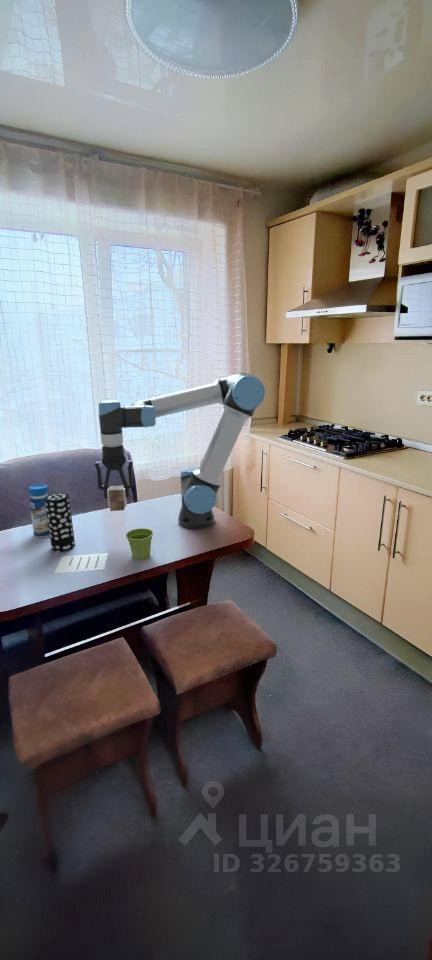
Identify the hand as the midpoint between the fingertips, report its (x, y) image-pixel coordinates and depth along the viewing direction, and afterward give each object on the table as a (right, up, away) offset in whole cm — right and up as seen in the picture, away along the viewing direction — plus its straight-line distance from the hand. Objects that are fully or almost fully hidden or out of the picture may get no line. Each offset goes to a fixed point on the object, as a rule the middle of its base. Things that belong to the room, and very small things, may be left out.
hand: (117, 505), depth 162 cm
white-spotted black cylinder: (-20, -16, 0) cm, 25 cm away
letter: (-9, -19, -12) cm, 25 cm away
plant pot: (+10, -18, -8) cm, 22 cm away
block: (0, -1, 0) cm, 1 cm away
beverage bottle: (-32, -12, +12) cm, 36 cm away
